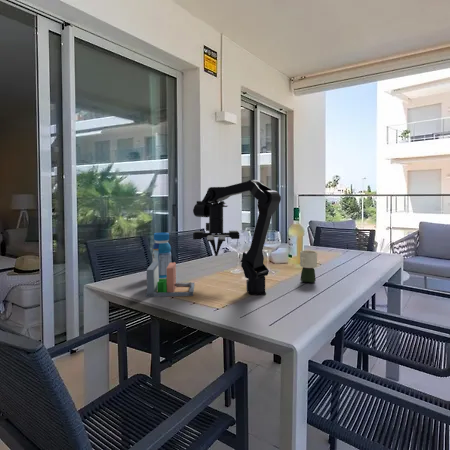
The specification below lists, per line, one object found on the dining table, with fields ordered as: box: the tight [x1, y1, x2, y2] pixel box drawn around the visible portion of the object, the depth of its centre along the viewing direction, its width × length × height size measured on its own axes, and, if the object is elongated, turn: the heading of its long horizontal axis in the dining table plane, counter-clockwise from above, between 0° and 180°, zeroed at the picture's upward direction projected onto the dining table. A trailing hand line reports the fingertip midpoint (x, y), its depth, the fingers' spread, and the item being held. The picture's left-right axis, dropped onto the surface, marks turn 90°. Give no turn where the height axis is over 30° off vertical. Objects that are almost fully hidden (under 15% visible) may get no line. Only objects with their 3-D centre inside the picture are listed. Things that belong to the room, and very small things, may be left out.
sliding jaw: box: [167, 262, 193, 292], centre depth 140 cm, size 9×11×10 cm
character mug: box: [299, 250, 318, 283], centre depth 153 cm, size 11×7×13 cm, turn 133°
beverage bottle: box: [151, 232, 172, 279], centre depth 160 cm, size 8×8×20 cm
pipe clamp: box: [157, 278, 167, 293], centre depth 139 cm, size 11×4×5 cm, turn 3°
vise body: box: [145, 261, 195, 297], centre depth 140 cm, size 17×15×10 cm
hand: (216, 255), depth 148 cm, fingers closed
